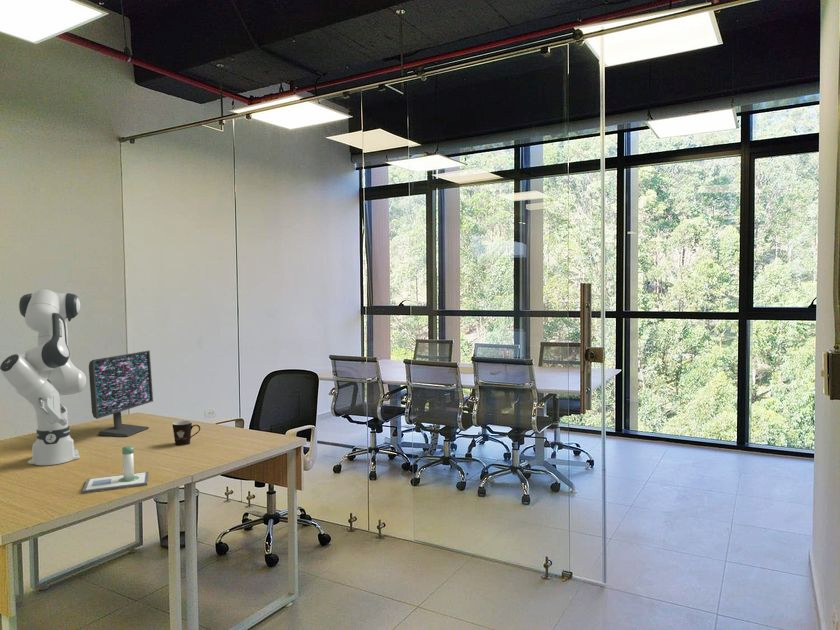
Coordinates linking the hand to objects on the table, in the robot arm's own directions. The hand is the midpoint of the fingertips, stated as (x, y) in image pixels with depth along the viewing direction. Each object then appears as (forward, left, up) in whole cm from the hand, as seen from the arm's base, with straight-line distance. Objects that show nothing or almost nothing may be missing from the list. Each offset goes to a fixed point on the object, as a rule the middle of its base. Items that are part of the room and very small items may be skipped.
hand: (64, 417), depth 218 cm
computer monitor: (-77, +15, -24) cm, 82 cm away
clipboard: (+11, +18, -24) cm, 32 cm away
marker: (+11, +22, -23) cm, 34 cm away
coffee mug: (-39, +43, -24) cm, 63 cm away
